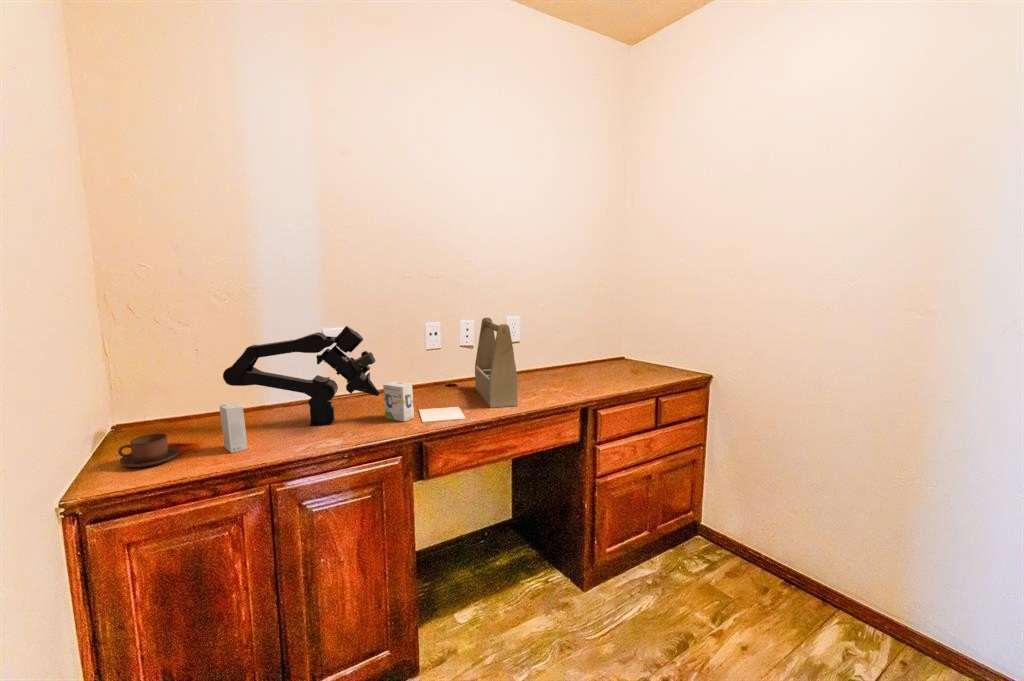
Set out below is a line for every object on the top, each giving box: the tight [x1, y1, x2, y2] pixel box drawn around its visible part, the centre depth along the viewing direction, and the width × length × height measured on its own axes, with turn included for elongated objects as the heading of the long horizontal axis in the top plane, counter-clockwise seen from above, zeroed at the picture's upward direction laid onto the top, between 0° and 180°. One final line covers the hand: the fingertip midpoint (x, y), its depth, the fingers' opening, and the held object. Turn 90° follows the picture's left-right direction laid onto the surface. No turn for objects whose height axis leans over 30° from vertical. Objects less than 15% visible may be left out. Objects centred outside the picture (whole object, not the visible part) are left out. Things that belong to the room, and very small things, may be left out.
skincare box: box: [219, 402, 248, 454], centre depth 125 cm, size 6×4×12 cm
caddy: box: [474, 317, 519, 409], centre depth 178 cm, size 29×11×30 cm, turn 15°
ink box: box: [382, 380, 415, 422], centre depth 152 cm, size 9×5×12 cm, turn 62°
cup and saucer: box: [117, 433, 181, 468], centre depth 117 cm, size 12×12×6 cm
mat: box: [418, 406, 467, 424], centre depth 157 cm, size 14×14×1 cm
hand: (378, 394), depth 151 cm, fingers closed
